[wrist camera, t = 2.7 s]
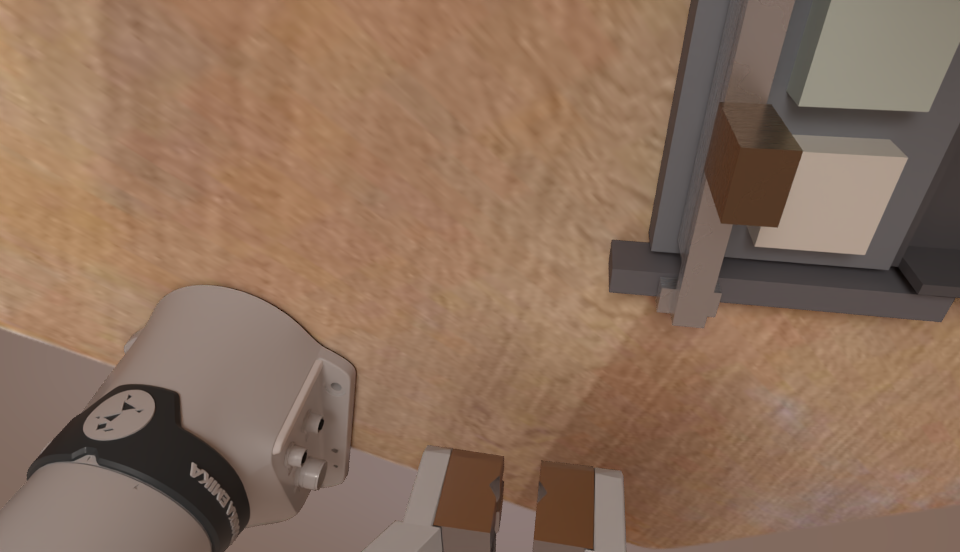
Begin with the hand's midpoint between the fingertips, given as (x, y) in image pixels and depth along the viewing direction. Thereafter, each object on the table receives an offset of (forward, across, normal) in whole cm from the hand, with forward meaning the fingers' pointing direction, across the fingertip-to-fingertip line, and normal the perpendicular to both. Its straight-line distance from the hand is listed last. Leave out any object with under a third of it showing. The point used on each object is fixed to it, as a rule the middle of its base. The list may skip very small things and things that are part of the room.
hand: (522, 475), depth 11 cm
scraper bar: (+21, +7, 0) cm, 22 cm away
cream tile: (+21, +12, -4) cm, 25 cm away
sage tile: (+21, +12, +4) cm, 25 cm away
